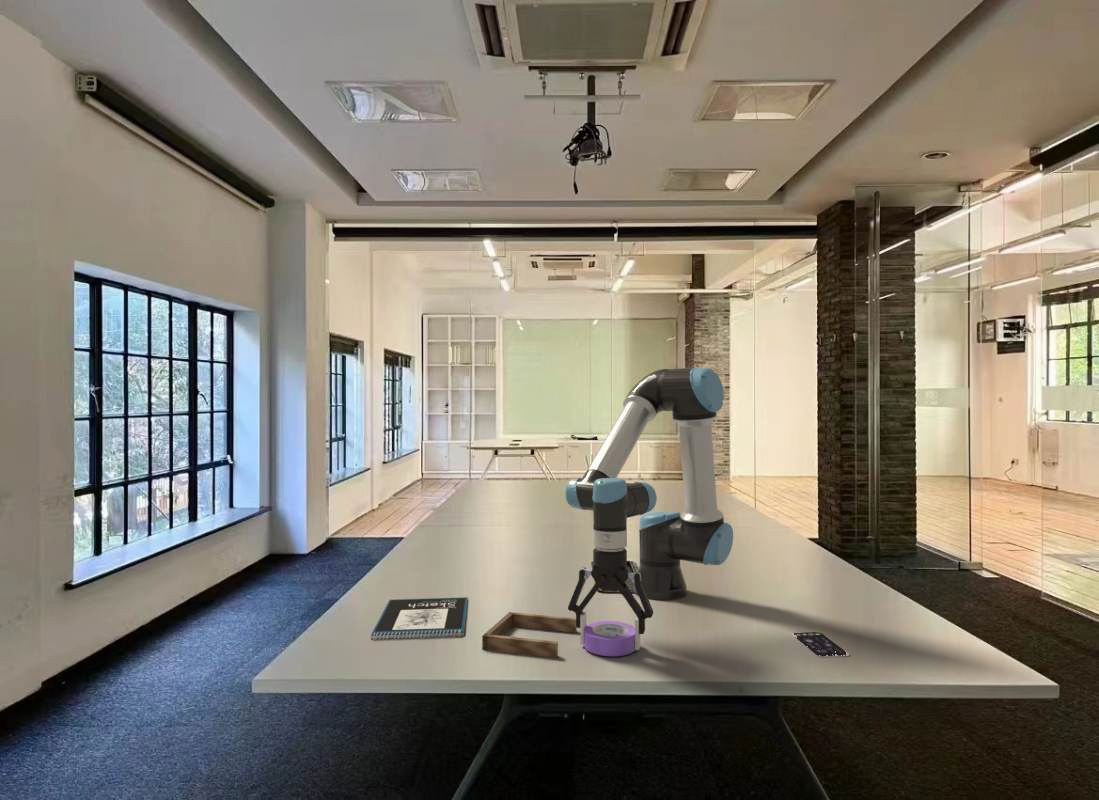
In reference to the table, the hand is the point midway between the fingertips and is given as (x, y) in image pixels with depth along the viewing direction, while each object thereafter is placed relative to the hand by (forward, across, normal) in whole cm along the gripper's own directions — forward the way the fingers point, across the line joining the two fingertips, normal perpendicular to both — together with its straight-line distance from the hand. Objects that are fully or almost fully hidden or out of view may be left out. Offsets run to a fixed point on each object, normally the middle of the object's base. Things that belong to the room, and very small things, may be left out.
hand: (610, 645), depth 148 cm
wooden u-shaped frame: (+1, -18, 0) cm, 18 cm away
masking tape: (+1, 0, 0) cm, 1 cm away
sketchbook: (+1, -50, +7) cm, 50 cm away
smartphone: (+1, +45, +16) cm, 48 cm away
